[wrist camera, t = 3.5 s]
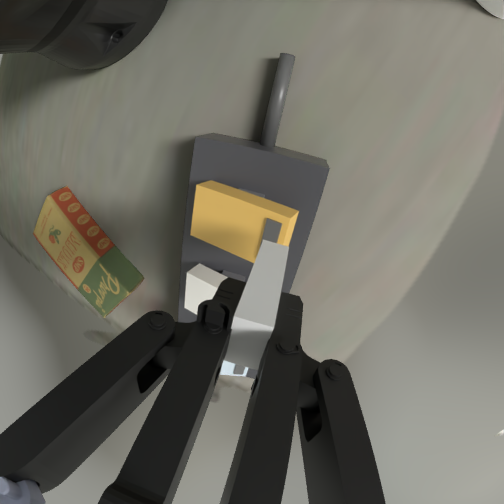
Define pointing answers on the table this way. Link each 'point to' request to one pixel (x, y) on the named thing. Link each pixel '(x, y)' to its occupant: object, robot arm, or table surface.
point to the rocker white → (201, 286)
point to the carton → (85, 252)
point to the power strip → (253, 190)
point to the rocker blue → (233, 369)
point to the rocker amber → (239, 219)
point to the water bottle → (493, 7)
